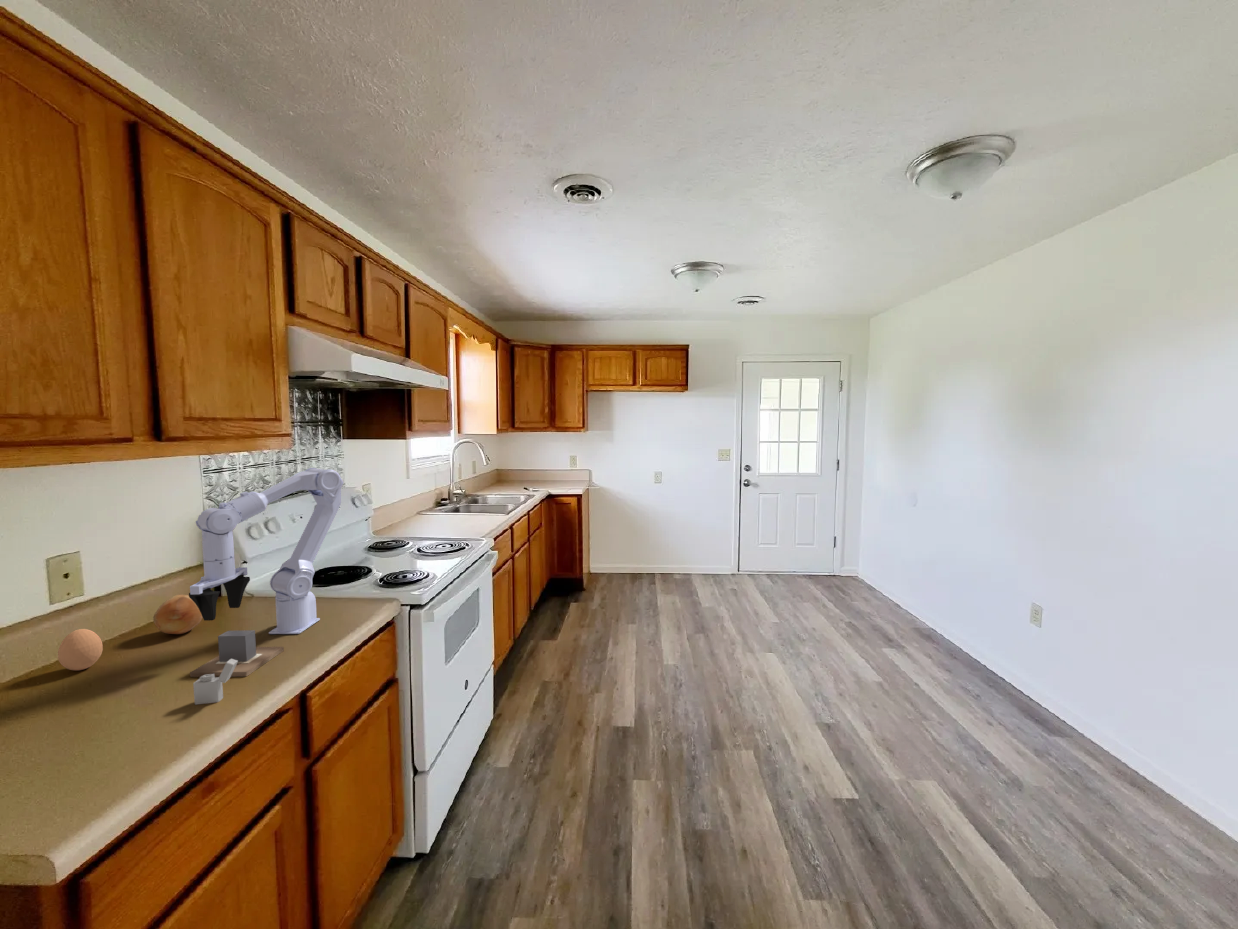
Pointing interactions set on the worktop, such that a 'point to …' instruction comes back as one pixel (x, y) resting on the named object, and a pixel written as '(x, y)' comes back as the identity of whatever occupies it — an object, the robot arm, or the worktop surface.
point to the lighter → (212, 685)
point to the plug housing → (237, 645)
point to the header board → (239, 663)
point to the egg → (80, 649)
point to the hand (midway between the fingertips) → (222, 613)
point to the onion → (177, 615)
